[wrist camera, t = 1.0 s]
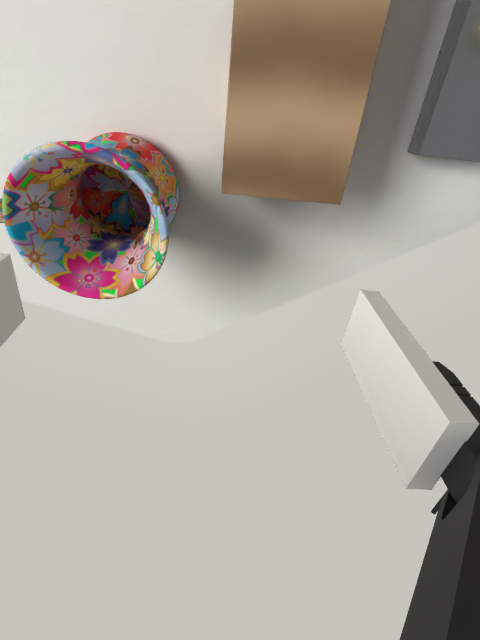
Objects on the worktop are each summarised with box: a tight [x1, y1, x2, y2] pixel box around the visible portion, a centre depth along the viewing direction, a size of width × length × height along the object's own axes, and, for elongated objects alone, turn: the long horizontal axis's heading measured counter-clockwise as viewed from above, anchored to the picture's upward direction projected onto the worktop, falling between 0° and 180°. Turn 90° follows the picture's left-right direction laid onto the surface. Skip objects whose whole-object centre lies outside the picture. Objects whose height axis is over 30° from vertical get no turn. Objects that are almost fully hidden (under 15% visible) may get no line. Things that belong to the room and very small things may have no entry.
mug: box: [0, 132, 179, 299], centre depth 25 cm, size 12×9×11 cm
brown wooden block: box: [222, 0, 391, 204], centre depth 22 cm, size 16×8×7 cm, turn 174°
